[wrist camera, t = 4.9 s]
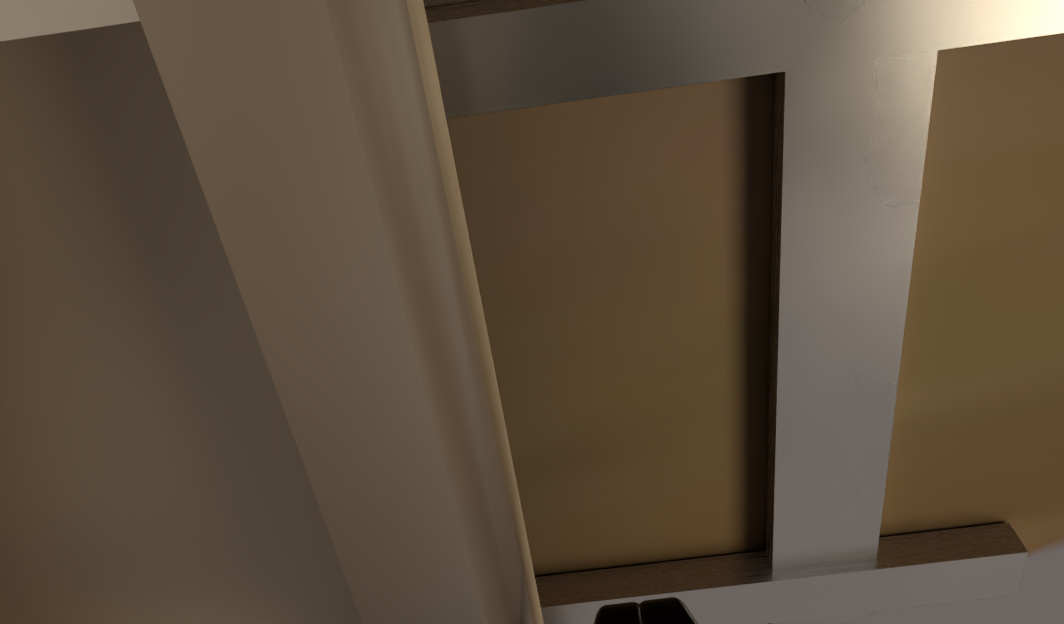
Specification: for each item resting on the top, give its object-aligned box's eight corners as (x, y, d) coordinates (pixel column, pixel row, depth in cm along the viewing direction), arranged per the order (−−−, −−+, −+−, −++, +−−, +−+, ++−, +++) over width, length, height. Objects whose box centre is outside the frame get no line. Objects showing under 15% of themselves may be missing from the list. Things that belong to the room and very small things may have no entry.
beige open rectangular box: (395, -251, 8) (269, -225, 3) (575, 733, 15) (604, 1104, 11) (-772, -68, 8) (-2175, 156, 4) (-13, 796, 16) (-194, 1176, 12)
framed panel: (1179, -210, 8) (1346, -195, 7) (989, 604, 15) (1051, 714, 13) (-1415, 177, 10) (-1815, 271, 8) (-544, 776, 16) (-663, 896, 15)
